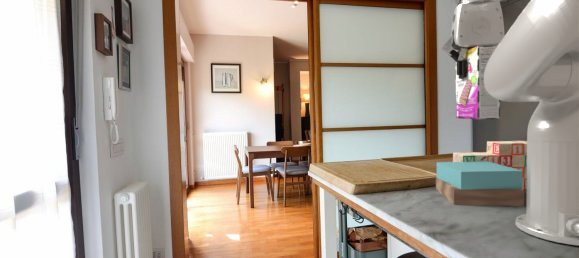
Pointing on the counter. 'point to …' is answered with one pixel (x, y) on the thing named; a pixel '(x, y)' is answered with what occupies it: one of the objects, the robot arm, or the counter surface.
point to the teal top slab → (479, 175)
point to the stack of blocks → (500, 156)
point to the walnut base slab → (480, 195)
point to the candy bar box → (476, 87)
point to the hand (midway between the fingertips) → (476, 76)
